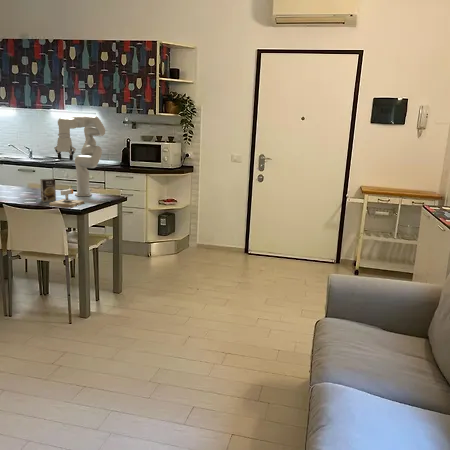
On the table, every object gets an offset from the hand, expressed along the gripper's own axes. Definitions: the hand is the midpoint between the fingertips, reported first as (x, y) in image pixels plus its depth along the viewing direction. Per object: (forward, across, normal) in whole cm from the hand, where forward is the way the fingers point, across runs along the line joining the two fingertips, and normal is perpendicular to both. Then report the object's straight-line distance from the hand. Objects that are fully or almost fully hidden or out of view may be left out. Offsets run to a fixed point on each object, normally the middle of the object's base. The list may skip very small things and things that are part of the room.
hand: (65, 159), depth 342 cm
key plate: (+30, +9, -13) cm, 34 cm away
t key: (+28, +9, -13) cm, 32 cm away
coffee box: (+31, -10, -8) cm, 33 cm away
